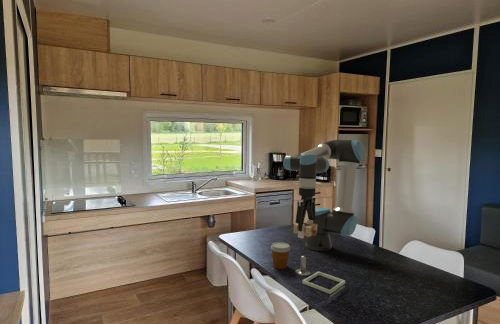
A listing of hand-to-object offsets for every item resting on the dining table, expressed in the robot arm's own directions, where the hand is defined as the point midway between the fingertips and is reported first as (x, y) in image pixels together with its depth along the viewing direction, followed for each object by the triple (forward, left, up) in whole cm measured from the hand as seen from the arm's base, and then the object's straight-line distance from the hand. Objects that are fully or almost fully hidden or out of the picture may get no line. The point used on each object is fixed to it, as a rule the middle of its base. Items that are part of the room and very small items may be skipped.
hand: (305, 235), depth 148 cm
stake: (0, -1, -19) cm, 19 cm away
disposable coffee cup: (+2, -13, -20) cm, 23 cm away
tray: (+3, +12, -19) cm, 23 cm away
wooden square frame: (0, 0, +1) cm, 1 cm away
